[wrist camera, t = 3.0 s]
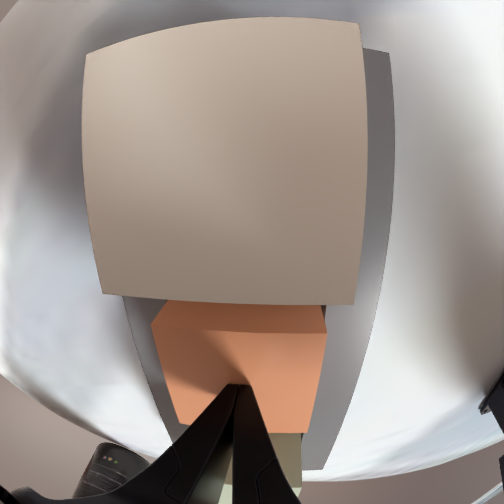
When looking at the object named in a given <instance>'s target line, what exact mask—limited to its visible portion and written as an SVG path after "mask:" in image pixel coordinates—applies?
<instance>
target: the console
mask: <svg viewBox="0 0 504 504" xmlns="http://www.w3.org/2000/svg"><path fill="white" fill-rule="evenodd" d="M362 50H363V59H364V70H365V82H366V98H367V126H368V160H367V189H366V205H365V219H364V230H363V240H362V249H361V258H360V266H359V273H358V280H357V287H356V293H355V299H354V305H321V309H322V313H323V317H324V321H325V325H326V329H327V339H326V345H325V351H324V357H323V362H322V368H321V373H320V378H319V383H318V388H317V393H316V397H315V402H314V406H313V411H312V415H311V419H310V423H309V427H308V431H307V433H301V457H302V470H322V469H323V467H324V465H325V463H326V461H327V459H328V456H329V454H330V452H331V450H332V447H333V445H334V443H335V440H336V438H337V435H338V433H339V431H340V428H341V426H342V423H343V420H344V418H345V415H346V412H347V410H348V407H349V404H350V401H351V398H352V396H353V393H354V390H355V387H356V383H357V380H358V377H359V374H360V371H361V367H362V364H363V361H364V357H365V354H366V350H367V346H368V342H369V339H370V335H371V331H372V327H373V322H374V318H375V314H376V309H377V304H378V300H379V295H380V289H381V284H382V279H383V273H384V267H385V261H386V254H387V247H388V239H389V231H390V222H391V212H392V200H393V185H394V160H395V125H394V101H393V86H392V75H391V66H390V58H389V53H386V52H381V51H376V50H371V49H365V48H362ZM123 300H124V304H125V309H126V312H127V316H128V320H129V324H130V328H131V331H132V335H133V338H134V342H135V345H136V348H137V351H138V355H139V358H140V361H141V364H142V367H143V370H144V373H145V376H146V379H147V381H148V384H149V387H150V390H151V392H152V395H153V397H154V400H155V403H156V405H157V408H158V410H159V413H160V415H161V417H162V420H163V422H164V424H165V427H166V429H167V431H168V434H169V436H170V438H171V440H172V442H173V443H174V442H175V441H176V440H177V439H178V438H179V437H180V436H181V435H182V433H183V432H184V431H185V430H186V429H187V428H188V427H189V426H190V425H187V424H181V423H180V422H179V420H178V417H177V414H176V411H175V408H174V405H173V402H172V399H171V396H170V393H169V390H168V387H167V383H166V380H165V377H164V373H163V370H162V366H161V363H160V359H159V356H158V352H157V348H156V344H155V340H154V336H153V332H152V328H151V323H152V322H153V320H154V319H155V318H156V316H157V315H158V313H159V312H160V310H161V309H162V308H163V306H164V305H165V303H166V302H167V301H168V300H166V299H153V298H142V297H131V296H123Z"/></svg>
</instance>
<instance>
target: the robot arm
mask: <svg viewBox="0 0 504 504" xmlns="http://www.w3.org/2000/svg"><path fill="white" fill-rule="evenodd" d="M490 411H492V413H493V415H494V417H495V419H496V420H497V422H498V424H499V426H500V428H501V430H502V432H503V433H504V374H503V375H502V377H501V379H500V381H499V382H498V384H497V385H496V387H495V389H494V390H493V392H492V393H491V395H490V396H489V398H488V400H487V401H486V402H485V404H484V405H483V407H482V408H481V410H480V413H481V415H483V414H485V413H488V412H490ZM232 453H233V455H232ZM231 457H232V504H301V502H300V501H299V499H298V497H297V496H296V494H295V493H294V491H293V489H292V488H291V486H290V484H289V482H288V480H287V479H286V477H285V474H284V472H283V470H282V467H281V465H280V462H279V460H278V458H277V455H276V452H275V450H274V447H273V444H272V442H271V439H270V436H269V433H268V431H267V428H266V425H265V422H264V420H263V417H262V414H261V411H260V408H259V406H258V403H257V400H256V397H255V394H254V391H253V388H252V386H251V385H245V384H241V385H240V386H239V385H238V384H231V383H228V384H227V385H226V386H225V387H224V388H223V389H222V390H221V392H220V393H219V394H218V395H217V396H216V397H215V398H214V400H213V401H212V402H211V403H210V404H209V405H208V406H207V407H206V408H205V410H204V411H203V412H202V413H201V414H200V415H199V416H198V417H197V418H196V420H195V421H194V422H193V423H192V424H191V425H190V426H189V427H188V428H187V429H186V430H185V431H184V432H183V433H182V435H181V436H180V437H179V438H178V439H177V440H176V441H175V442H174V443H173V444H172V446H170V447H169V448H168V449H167V450H166V451H165V452H164V453H163V454H162V455H161V456H160V457H159V458H158V459H157V460H155V461H154V462H153V463H152V464H151V465H149V466H148V467H147V468H146V469H144V470H143V471H142V472H140V473H139V474H137V475H136V476H135V477H133V478H132V479H130V480H129V481H127V482H126V483H125V484H123V485H122V486H120V487H119V488H117V489H115V490H113V491H111V492H108V493H105V494H100V495H95V496H88V497H81V498H73V499H65V500H53V499H48V498H45V497H43V496H41V495H40V494H39V493H37V492H36V491H34V490H33V489H31V488H30V487H23V488H18V489H15V490H13V491H12V492H11V493H10V492H9V491H8V490H6V489H5V488H4V487H3V486H2V485H0V504H218V503H219V499H220V496H221V493H222V489H223V486H224V482H225V479H226V475H227V471H228V468H229V464H230V461H231ZM499 462H500V469H501V476H502V482H503V490H504V455H503V456H502V457H500V458H499Z"/></svg>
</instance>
